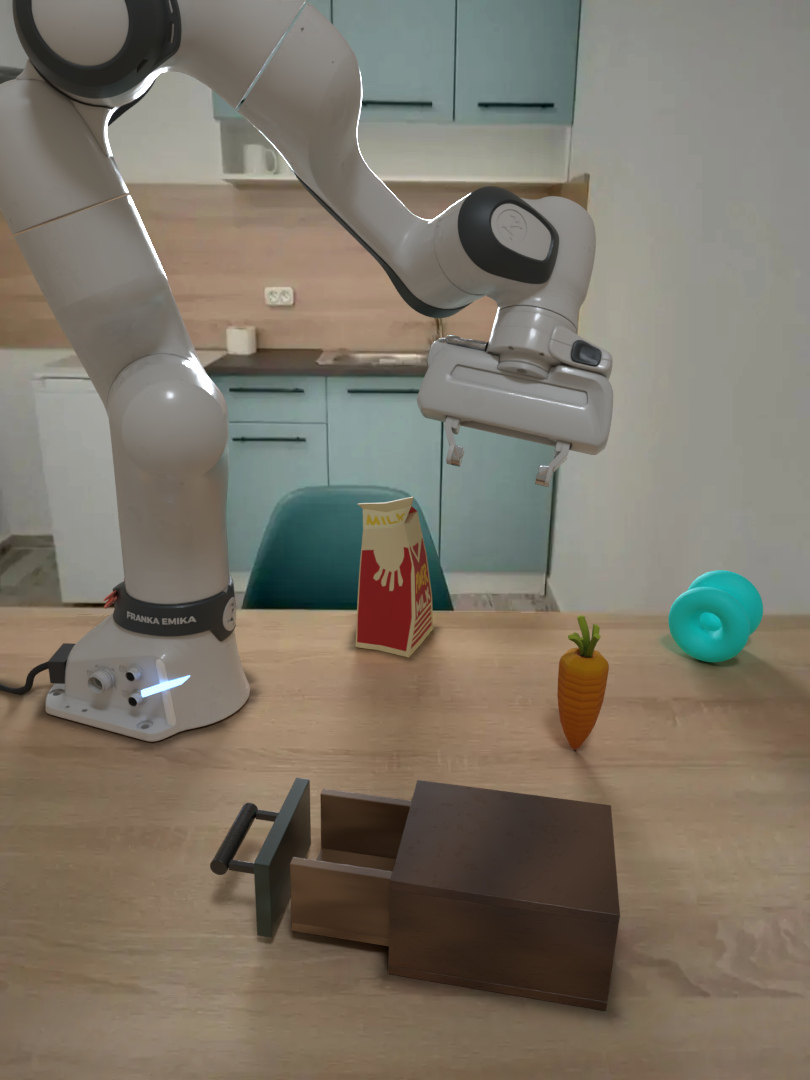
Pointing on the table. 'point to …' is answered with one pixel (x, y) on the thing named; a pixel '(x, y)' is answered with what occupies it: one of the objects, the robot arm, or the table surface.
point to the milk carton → (393, 580)
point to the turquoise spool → (715, 616)
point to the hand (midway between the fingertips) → (497, 474)
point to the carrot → (581, 685)
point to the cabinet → (506, 894)
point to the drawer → (322, 863)
